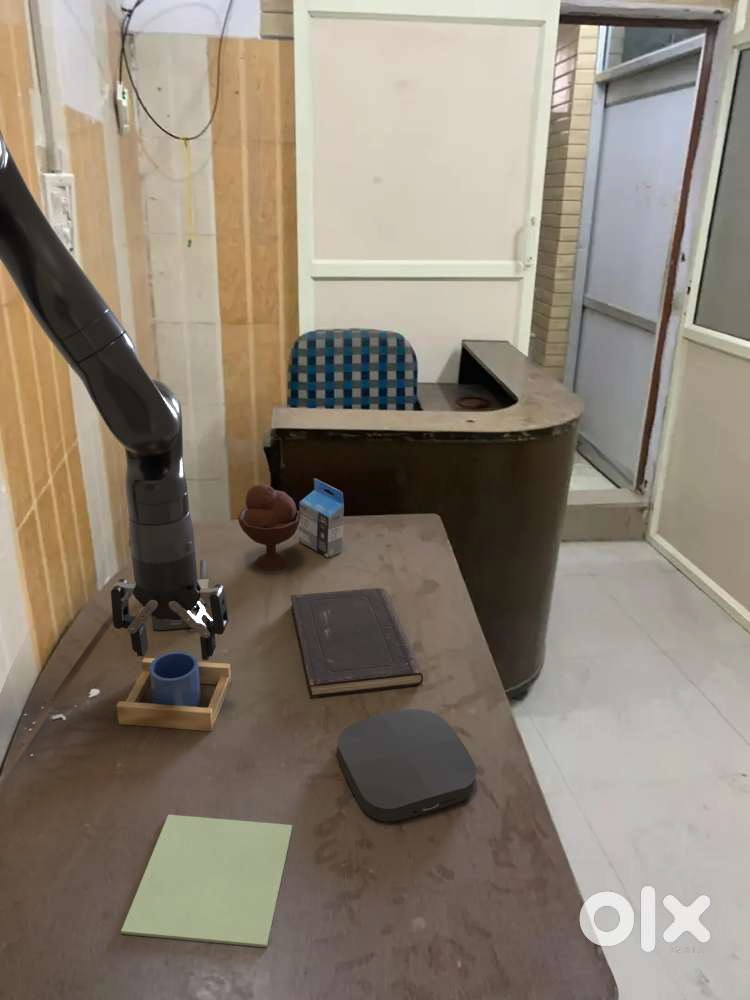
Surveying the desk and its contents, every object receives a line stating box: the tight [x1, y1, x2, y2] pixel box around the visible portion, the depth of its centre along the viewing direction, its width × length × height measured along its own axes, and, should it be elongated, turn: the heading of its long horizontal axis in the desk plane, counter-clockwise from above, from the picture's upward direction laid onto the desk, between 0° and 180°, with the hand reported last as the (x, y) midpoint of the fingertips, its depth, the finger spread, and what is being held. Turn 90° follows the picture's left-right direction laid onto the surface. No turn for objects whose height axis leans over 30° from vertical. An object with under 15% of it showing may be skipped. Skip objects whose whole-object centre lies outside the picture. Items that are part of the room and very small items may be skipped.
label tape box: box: [298, 477, 345, 558], centre depth 141 cm, size 9×4×12 cm, turn 43°
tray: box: [115, 657, 232, 732], centre depth 102 cm, size 12×10×3 cm
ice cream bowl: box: [237, 483, 301, 571], centre depth 134 cm, size 11×11×15 cm
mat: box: [120, 814, 293, 948], centre depth 78 cm, size 14×14×1 cm
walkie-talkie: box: [151, 559, 211, 631], centre depth 125 cm, size 9×4×20 cm
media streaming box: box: [336, 708, 477, 822], centre depth 92 cm, size 15×15×3 cm
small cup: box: [149, 650, 202, 707], centre depth 101 cm, size 6×6×6 cm
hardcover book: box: [290, 587, 424, 699], centre depth 115 cm, size 16×23×2 cm
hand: (174, 654), depth 99 cm, fingers open, 8 cm apart
